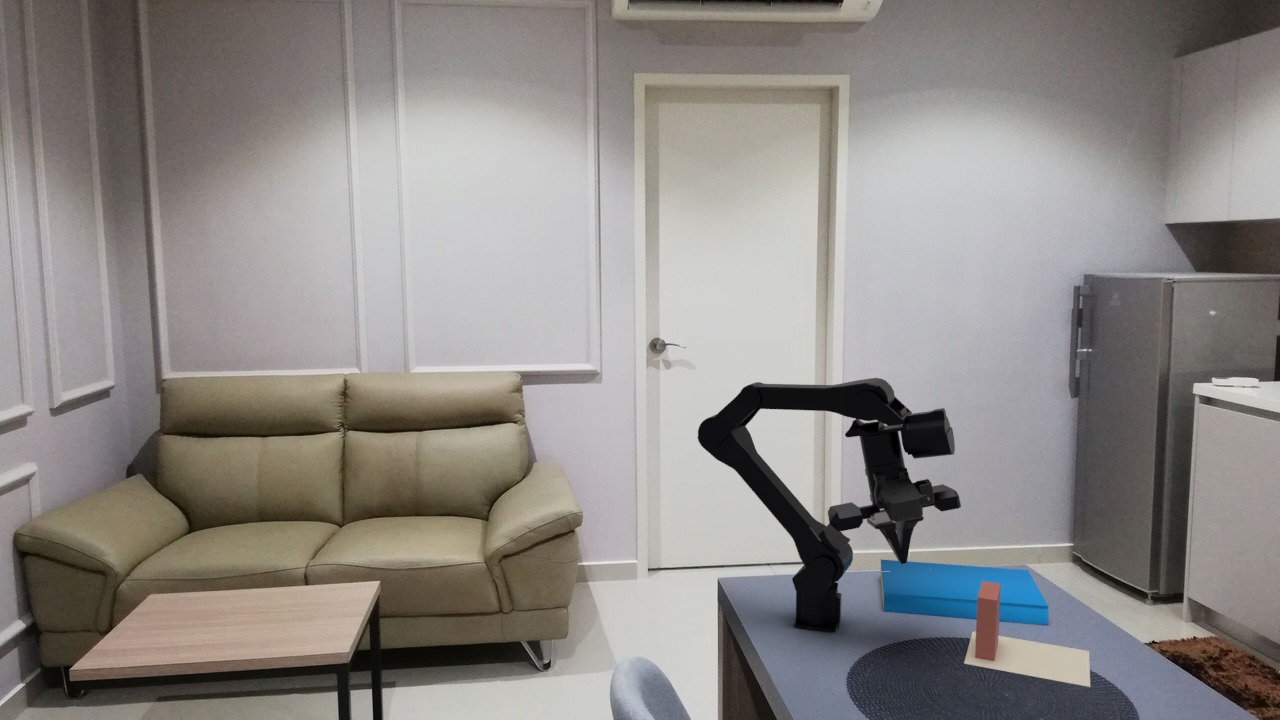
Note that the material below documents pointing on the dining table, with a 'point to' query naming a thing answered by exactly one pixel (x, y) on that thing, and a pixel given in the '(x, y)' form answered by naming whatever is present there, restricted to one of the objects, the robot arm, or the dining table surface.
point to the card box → (987, 621)
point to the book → (959, 591)
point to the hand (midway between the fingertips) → (903, 563)
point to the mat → (1036, 660)
